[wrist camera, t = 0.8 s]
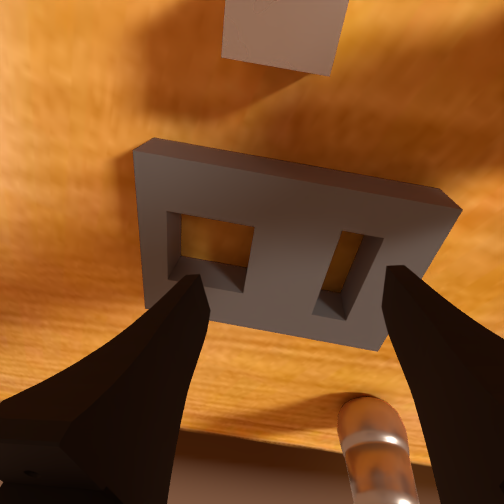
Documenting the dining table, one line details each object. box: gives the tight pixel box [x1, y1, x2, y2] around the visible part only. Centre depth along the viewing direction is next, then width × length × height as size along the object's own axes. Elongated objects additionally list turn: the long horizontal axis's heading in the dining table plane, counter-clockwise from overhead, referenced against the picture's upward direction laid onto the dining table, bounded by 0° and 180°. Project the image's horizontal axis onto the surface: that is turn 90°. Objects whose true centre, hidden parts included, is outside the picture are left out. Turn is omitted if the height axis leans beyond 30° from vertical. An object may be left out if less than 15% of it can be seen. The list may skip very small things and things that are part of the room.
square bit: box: [221, 0, 349, 76], centre depth 12 cm, size 4×4×6 cm
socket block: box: [133, 138, 463, 351], centre depth 21 cm, size 18×12×3 cm, turn 82°
